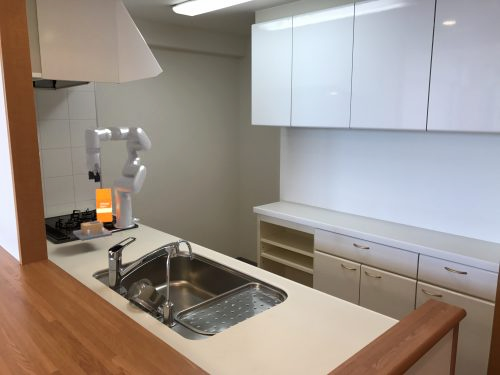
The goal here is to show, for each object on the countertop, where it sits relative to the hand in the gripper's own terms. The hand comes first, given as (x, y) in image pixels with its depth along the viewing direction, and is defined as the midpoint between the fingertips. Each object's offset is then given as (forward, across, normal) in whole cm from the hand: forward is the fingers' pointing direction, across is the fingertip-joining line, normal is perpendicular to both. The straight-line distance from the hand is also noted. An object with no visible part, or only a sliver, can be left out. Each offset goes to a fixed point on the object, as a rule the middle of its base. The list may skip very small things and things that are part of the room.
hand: (94, 180), depth 235 cm
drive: (+26, +13, -7) cm, 30 cm away
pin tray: (+27, +13, -7) cm, 31 cm away
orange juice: (+29, -15, +10) cm, 34 cm away
